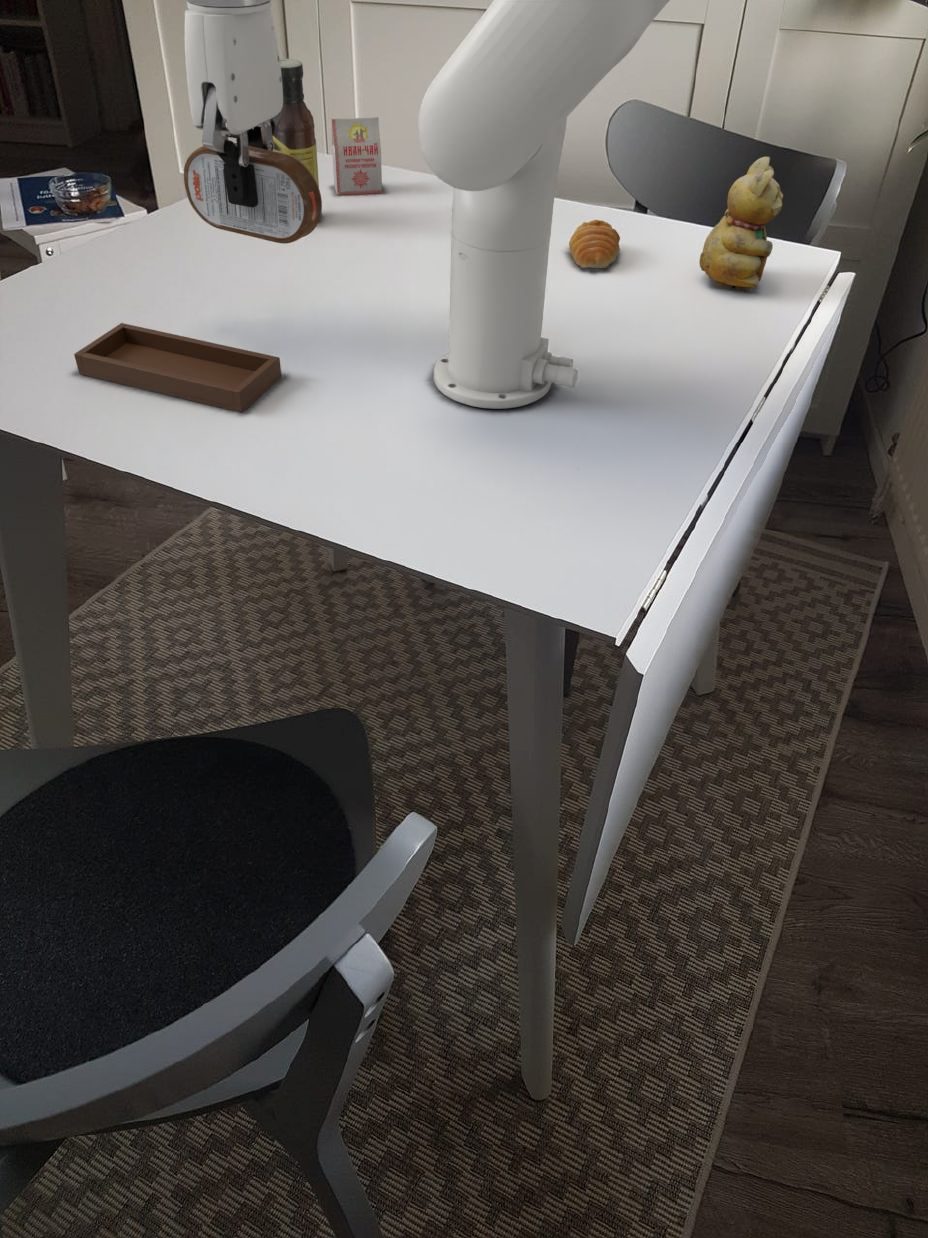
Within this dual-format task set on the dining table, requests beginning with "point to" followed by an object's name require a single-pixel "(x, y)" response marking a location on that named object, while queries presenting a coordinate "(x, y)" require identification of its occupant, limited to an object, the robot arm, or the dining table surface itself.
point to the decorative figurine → (743, 230)
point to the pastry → (594, 244)
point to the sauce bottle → (295, 119)
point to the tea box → (356, 156)
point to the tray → (180, 366)
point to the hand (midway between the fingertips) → (252, 197)
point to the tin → (281, 195)
